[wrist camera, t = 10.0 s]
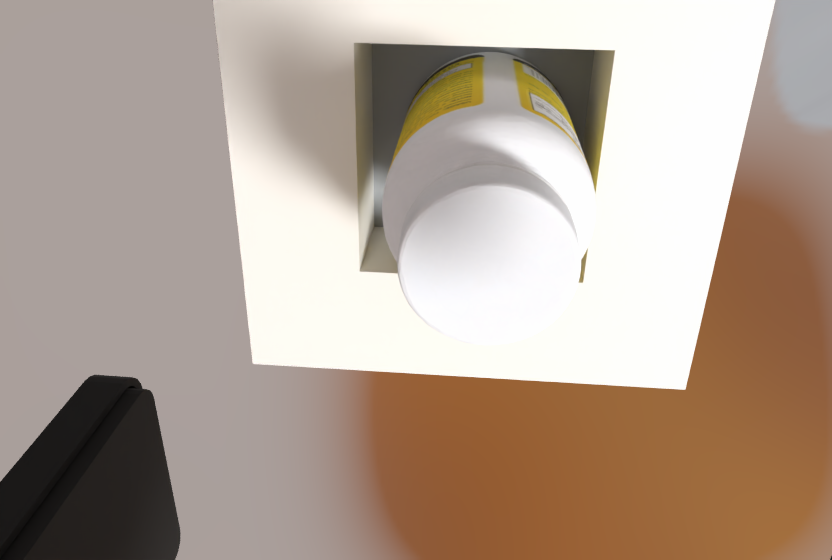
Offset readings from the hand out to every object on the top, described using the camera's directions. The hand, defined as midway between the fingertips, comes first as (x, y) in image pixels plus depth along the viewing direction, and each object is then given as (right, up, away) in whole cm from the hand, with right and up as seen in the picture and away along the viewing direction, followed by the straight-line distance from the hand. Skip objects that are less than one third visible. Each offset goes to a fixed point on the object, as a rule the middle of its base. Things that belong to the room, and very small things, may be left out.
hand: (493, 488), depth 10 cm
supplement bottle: (+1, +8, +15) cm, 17 cm away
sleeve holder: (+1, +8, +15) cm, 18 cm away
